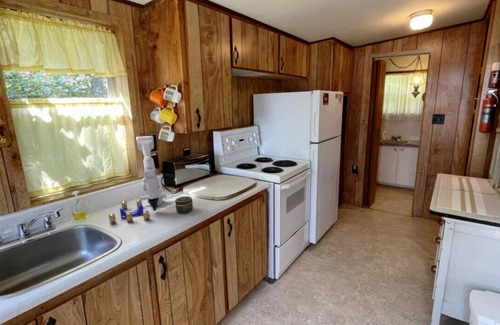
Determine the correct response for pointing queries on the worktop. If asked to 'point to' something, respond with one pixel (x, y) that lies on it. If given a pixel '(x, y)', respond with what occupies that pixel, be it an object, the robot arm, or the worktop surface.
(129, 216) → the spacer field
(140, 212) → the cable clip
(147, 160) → the robot arm
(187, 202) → the jar
